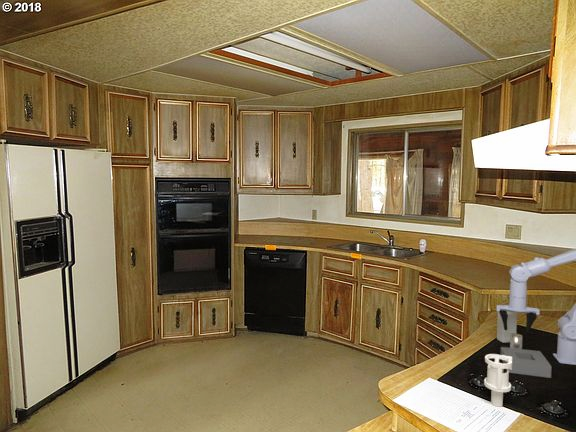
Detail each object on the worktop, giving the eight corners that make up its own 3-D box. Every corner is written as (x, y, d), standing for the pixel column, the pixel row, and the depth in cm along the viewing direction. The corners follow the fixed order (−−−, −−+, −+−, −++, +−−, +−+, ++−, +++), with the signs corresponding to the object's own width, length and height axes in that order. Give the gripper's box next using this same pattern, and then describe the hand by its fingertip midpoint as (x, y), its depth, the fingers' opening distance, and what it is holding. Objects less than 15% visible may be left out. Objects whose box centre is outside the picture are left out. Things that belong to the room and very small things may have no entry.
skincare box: (509, 338, 168) (510, 310, 168) (516, 342, 164) (517, 314, 163) (496, 339, 168) (497, 311, 167) (502, 343, 163) (503, 314, 163)
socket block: (539, 361, 146) (540, 351, 146) (550, 377, 134) (551, 366, 133) (500, 357, 150) (500, 346, 150) (507, 372, 138) (508, 361, 137)
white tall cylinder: (512, 412, 113) (514, 362, 112) (484, 407, 116) (486, 358, 115) (508, 400, 120) (510, 352, 119) (482, 395, 122) (484, 348, 121)
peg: (520, 351, 156) (520, 333, 155) (522, 355, 152) (523, 337, 151) (508, 349, 157) (509, 332, 156) (511, 354, 153) (511, 336, 152)
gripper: (536, 295, 154) (534, 329, 155) (495, 292, 159) (493, 325, 160) (541, 300, 147) (540, 335, 148) (498, 296, 152) (497, 331, 153)
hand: (516, 330), depth 154 cm, fingers open, 7 cm apart
